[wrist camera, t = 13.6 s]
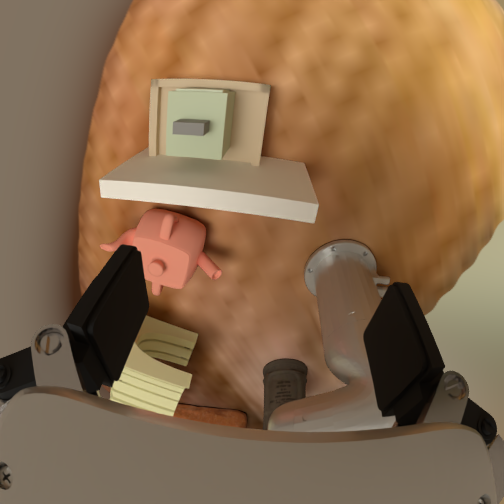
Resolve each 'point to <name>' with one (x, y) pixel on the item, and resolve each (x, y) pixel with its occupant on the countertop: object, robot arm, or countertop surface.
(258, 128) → the beige slab with panel
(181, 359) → the slatted curved stool
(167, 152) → the cabinet box
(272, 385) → the beer stein
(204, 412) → the bread
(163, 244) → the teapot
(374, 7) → the countertop surface
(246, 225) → the countertop surface
